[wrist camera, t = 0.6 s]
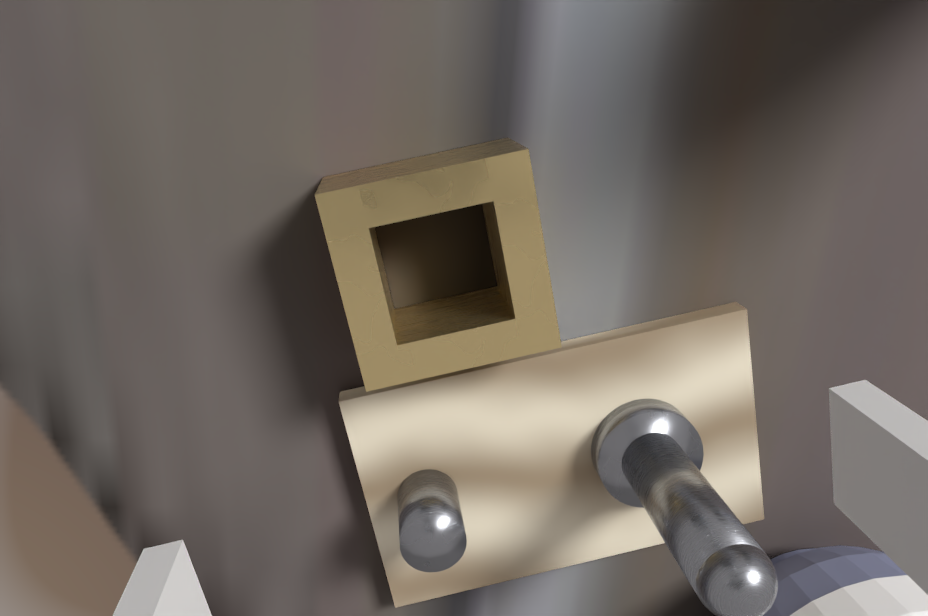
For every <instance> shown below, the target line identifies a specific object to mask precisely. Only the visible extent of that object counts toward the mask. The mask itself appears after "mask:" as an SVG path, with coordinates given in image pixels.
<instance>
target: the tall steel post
mask: <svg viewBox="0 0 928 616" xmlns="http://www.w3.org/2000/svg"><path fill="white" fill-rule="evenodd" d="M703 455H704V453H703V444H702V440H701V437H700V435H699V433H698V432H697V430H696V429H695V428H694V426H693V425H692V424H691V423H690V422H689V421H688V419H687V418H686V417H685V416H684V415H683V414H682V413H681V412H680V411H679V410H678V409H677V408H676V407H674V406H673V405H671V404H669V403H667V402H665V401H662V400H657V399H638V400H633V401H630V402H627V403H625V404H622V405H621V406H619V407H617V408H616V409H614V410H613V411H611V412H610V413H609V414H608V415H607V416H606V417H605V418H604V419H603V420H602V422H601V423H600V424H599V426H598V427H597V429H596V431H595V434H594V436H593V439H592V444H591V458H592V462H593V465H594V468H595V470H596V472H597V474H598V475H599V477H600V479H601V481H602V483H603V485H604V486H605V488H606V490H607V491H608V492H609V493H610V494H611V495H612V496H613V497H614V498H615V499H617V500H618V501H620V502H622V503H624V504H626V505H629V506H633V507H640V508H644V509H645V510H646V512H647V514H648V515H649V517H650V518H651V520H652V522H653V523H654V525H655V527H656V528H657V530H658V532H659V533H660V535H661V537H662V538H663V540H664V542H665V543H666V545H667V546H668V548H669V550H670V551H671V553H672V555H673V556H674V558H675V560H676V561H677V563H678V565H679V566H680V568H681V569H682V571H683V573H684V574H685V576H686V578H687V579H688V581H689V583H690V584H691V586H692V588H693V589H694V591H695V593H696V594H697V596H698V597H699V599H700V601H701V602H702V603H703V605H704V606H705V607H706V608H707V609H708V610H709V611H710V612H712V613H713V614H715V615H716V616H762V615H764V614H765V613H766V612H767V611H768V610H769V609H770V608H771V606H772V604H773V603H774V601H775V598H776V595H777V590H778V579H777V574H776V570H775V567H774V565H773V563H772V561H771V560H770V558H769V557H768V556H767V554H766V553H765V552H764V550H763V549H762V548H761V547H760V545H759V544H758V543H757V542H756V540H755V539H754V538H753V537H752V535H751V534H750V533H749V532H748V530H747V529H746V528H745V527H744V525H743V524H742V523H741V522H740V520H739V519H738V518H737V517H736V515H735V514H734V513H733V512H732V510H731V509H730V508H729V507H728V505H727V504H726V503H725V502H724V500H723V499H722V498H721V497H720V496H719V494H718V493H717V492H716V491H715V489H714V488H713V487H712V486H711V484H710V483H709V482H708V481H707V479H706V478H705V477H704V476H703V474H702V473H701V472H700V469H701V467H702V463H703Z"/></svg>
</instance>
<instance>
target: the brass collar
mask: <svg viewBox="0 0 928 616" xmlns="http://www.w3.org/2000/svg"><path fill="white" fill-rule="evenodd" d="M315 198H316V202H317V206H318V210H319V214H320V218H321V221H322V225H323V229H324V233H325V237H326V240H327V244H328V248H329V252H330V256H331V260H332V263H333V267H334V271H335V275H336V279H337V282H338V286H339V290H340V294H341V298H342V302H343V305H344V309H345V313H346V317H347V321H348V324H349V328H350V332H351V336H352V340H353V344H354V347H355V351H356V355H357V359H358V363H359V366H360V370H361V374H362V378H363V382H364V386H365V389H366V392H367V391H372V390H376V389H381V388H385V387H390V386H394V385H398V384H403V383H407V382H412V381H416V380H420V379H425V378H429V377H434V376H438V375H442V374H447V373H451V372H456V371H460V370H464V369H469V368H473V367H478V366H482V365H486V364H491V363H495V362H500V361H504V360H508V359H513V358H517V357H522V356H526V355H530V354H535V353H539V352H544V351H548V350H552V349H557V348H561V347H562V346H561V340H560V334H559V328H558V322H557V316H556V310H555V304H554V298H553V292H552V286H551V280H550V274H549V268H548V263H547V257H546V251H545V245H544V239H543V233H542V227H541V221H540V215H539V209H538V203H537V197H536V191H535V185H534V179H533V173H532V167H531V161H530V155H529V149H528V148H526V147H524V146H522V145H520V144H518V143H516V142H515V141H513V140H511V139H509V138H503V139H498V140H494V141H489V142H484V143H480V144H475V145H470V146H466V147H461V148H456V149H452V150H447V151H442V152H438V153H433V154H428V155H424V156H419V157H414V158H410V159H405V160H400V161H396V162H391V163H386V164H382V165H377V166H372V167H368V168H363V169H358V170H354V171H349V172H344V173H340V174H335V175H330V176H326V177H323V179H322V181H321V183H320V185H319V187H318V189H317V191H316V193H315ZM478 204H482V208H483V214H484V219H485V224H486V229H487V235H488V240H489V245H490V250H491V255H492V261H493V266H494V271H495V276H496V281H497V286H495V287H490V288H486V289H481V290H477V291H473V292H468V293H464V294H459V295H455V296H450V297H446V298H441V299H437V300H432V301H428V302H423V303H419V304H414V305H410V306H405V307H401V308H396V309H394V305H393V301H392V297H391V293H390V289H389V284H388V280H387V276H386V272H385V268H384V264H383V259H382V255H381V251H380V247H379V243H378V239H377V234H376V230H375V227H377V226H381V225H386V224H391V223H395V222H400V221H404V220H409V219H414V218H418V217H423V216H427V215H432V214H437V213H441V212H446V211H450V210H455V209H460V208H464V207H469V206H473V205H478Z"/></svg>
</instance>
